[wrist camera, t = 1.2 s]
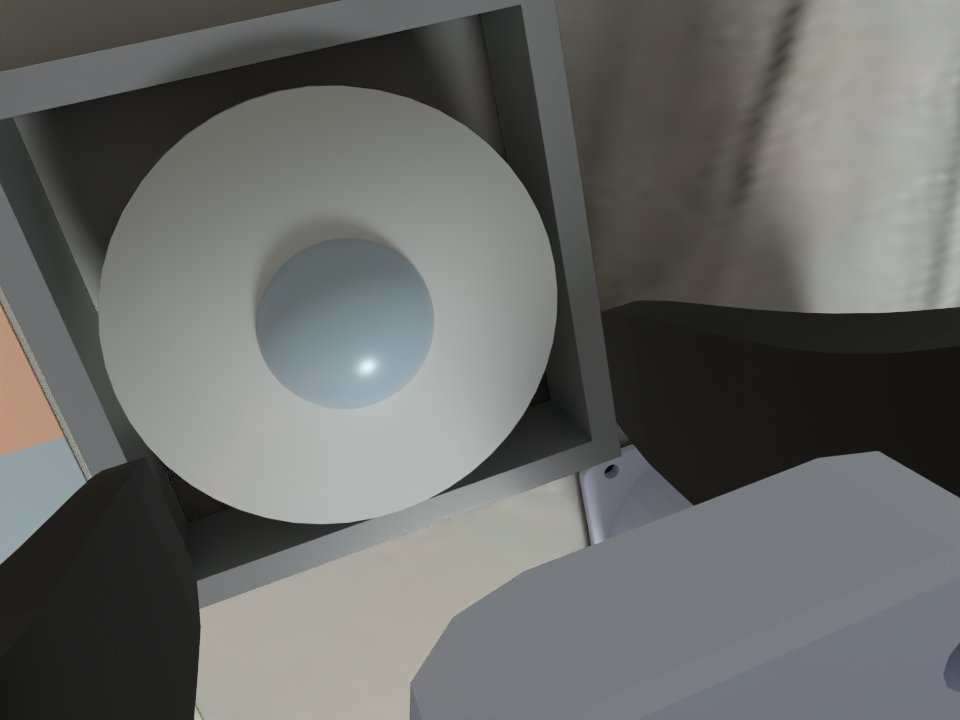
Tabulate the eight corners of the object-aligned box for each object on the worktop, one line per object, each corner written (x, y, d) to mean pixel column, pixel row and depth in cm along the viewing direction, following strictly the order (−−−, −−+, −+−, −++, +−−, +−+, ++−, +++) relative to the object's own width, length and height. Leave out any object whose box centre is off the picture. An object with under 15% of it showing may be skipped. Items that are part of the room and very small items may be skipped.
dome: (481, 41, 18) (545, 34, 15) (549, 409, 22) (613, 474, 19) (36, 143, 16) (-15, 163, 13) (200, 527, 20) (196, 626, 17)
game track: (-46, 208, 17) (-47, 209, 17) (276, 871, 27) (276, 873, 27) (-406, 295, 16) (-410, 296, 16) (69, 962, 26) (69, 965, 26)
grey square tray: (503, -28, 19) (548, -44, 17) (577, 414, 24) (621, 456, 22) (-44, 88, 17) (-94, 91, 14) (169, 554, 22) (162, 622, 19)
